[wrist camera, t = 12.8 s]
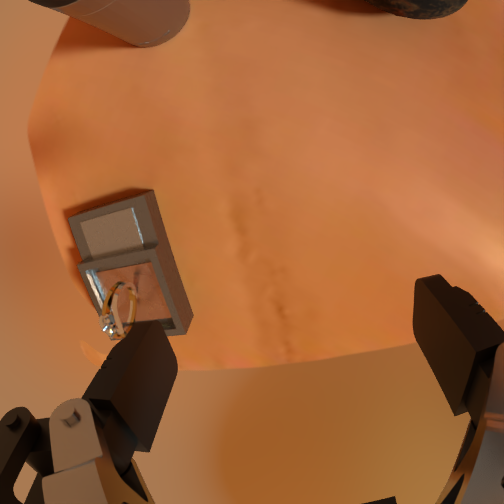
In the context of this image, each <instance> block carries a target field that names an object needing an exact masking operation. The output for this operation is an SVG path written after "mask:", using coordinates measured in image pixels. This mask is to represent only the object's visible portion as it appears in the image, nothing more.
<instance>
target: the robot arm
mask: <svg viewBox="0 0 504 504" xmlns="http://www.w3.org/2000/svg"><path fill="white" fill-rule="evenodd" d="M29 1H31V2H33V3H36V4H39V5H41V6H44V7H48V8H50V9H53V10H56V11H58V12H61V13H63V14H66V15H68V16H71V17H73V18H76V19H78V20H81V21H83V22H85V23H87V24H90V25H92V26H94V27H96V28H99V29H101V30H103V31H105V32H107V33H109V34H111V35H114V36H116V37H118V38H120V39H122V40H124V41H126V42H128V43H130V44H132V45H135V46H137V47H153V46H156V45H160V44H162V43H164V42H166V41H168V40H169V39H171V38H172V37H174V36H175V35H176V34H177V33H178V32H179V31H180V30H181V29H182V27H183V26H184V25H185V23H186V21H187V19H188V15H189V12H190V4H189V0H29ZM413 331H414V335H415V338H416V341H417V343H418V344H419V346H420V348H421V350H422V352H423V353H424V356H425V357H426V359H427V361H428V363H429V365H430V367H431V369H432V371H433V373H434V375H435V377H436V379H437V381H438V382H439V384H440V387H441V389H442V391H443V392H444V394H445V397H446V399H447V401H448V403H449V405H450V407H451V409H452V412H453V413H454V416H457V415H460V414H463V413H465V412H469V414H470V416H471V419H470V421H469V424H468V427H467V430H466V433H465V436H464V439H463V442H462V445H461V448H460V451H459V454H458V457H457V459H456V462H455V464H454V467H453V470H452V472H451V474H450V477H449V479H448V481H447V483H446V485H445V487H444V489H443V491H442V492H441V494H440V496H439V498H438V500H437V502H436V503H435V504H504V331H503V330H502V329H501V327H500V326H499V325H498V324H497V323H496V322H495V321H494V319H493V318H492V317H491V316H490V315H489V314H488V313H487V312H485V309H484V308H483V307H482V306H481V305H480V304H479V305H478V302H477V301H476V300H475V299H474V297H473V296H472V295H471V294H470V293H468V292H466V291H464V290H463V289H461V288H459V287H457V286H455V287H452V286H451V285H450V284H449V283H448V282H447V281H446V280H445V279H444V278H443V277H442V276H441V275H440V274H436V275H432V276H428V277H423V278H419V279H417V280H416V282H415V290H414V310H413ZM106 359H107V360H105V361H104V362H103V364H102V366H101V369H99V370H98V372H97V373H96V375H95V377H94V378H93V380H92V382H91V383H90V385H89V386H88V388H87V390H86V391H85V393H84V395H83V396H82V398H81V399H79V398H76V399H70V400H68V401H65V402H64V403H62V404H60V405H59V406H58V407H57V408H56V409H55V410H54V411H53V413H52V415H51V417H50V418H44V419H35V417H34V416H33V415H32V414H31V412H30V411H29V410H28V409H27V408H25V407H17V408H14V409H12V410H10V411H9V412H7V413H6V414H5V416H4V417H3V418H2V419H1V421H0V504H22V503H21V502H20V501H19V500H17V498H16V497H15V495H14V492H13V487H14V483H15V481H16V479H17V477H18V475H19V473H20V471H21V469H22V467H23V465H24V463H25V461H26V462H27V463H28V464H29V465H30V466H31V467H32V468H33V469H34V470H35V471H36V472H37V476H36V478H35V480H34V482H33V485H32V487H31V489H30V491H29V494H28V496H27V498H26V501H25V503H24V504H155V502H154V500H153V498H152V496H151V494H150V492H149V490H148V488H147V486H146V484H145V481H144V479H143V477H142V475H141V473H140V471H139V468H138V466H137V464H136V462H135V460H134V459H133V458H132V456H133V454H134V451H141V452H150V449H151V446H152V443H153V441H154V438H155V435H156V432H157V429H158V426H159V423H160V420H161V418H162V415H163V412H164V409H165V406H166V403H167V401H168V398H169V395H170V392H171V390H172V387H173V384H174V381H175V379H176V376H177V371H178V364H177V359H176V356H175V354H174V352H173V349H172V347H171V345H170V343H169V340H168V338H167V336H166V333H165V331H164V329H163V326H162V324H161V323H160V322H159V321H158V320H151V321H141V322H135V323H134V324H133V326H132V328H131V329H130V331H129V332H128V334H127V335H126V337H125V338H123V339H122V340H121V341H120V342H119V343H118V344H116V345H115V346H114V347H113V348H112V350H111V351H110V353H109V355H108V356H107V358H106ZM364 504H397V503H396V499H395V496H394V497H390V498H386V499H381V500H377V501H373V502H368V503H364Z"/></svg>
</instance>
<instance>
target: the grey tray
mask: <svg viewBox="0 0 504 504" xmlns="http://www.w3.org/2000/svg"><path fill="white" fill-rule="evenodd" d="M68 221H69V224H70V227H71V230H72V233H73V236H74V239H75V241H76V244H77V247H78V250H79V252H80V255H81V258H82V261H81V262H80V263H79V264H78V265H77V266H78V269H79V271H80V274H81V276H82V279H83V281H84V283H85V286H86V288H87V290H88V293H89V295H90V297H91V300H92V302H93V304H94V306H95V308H96V310H97V313H98V315H99V317H100V316H101V315H102V309H103V304H104V301H105V298H106V295H107V294H108V292H109V290H110V289H111V287H112V286H113V285H114V284H116V283H117V282H119V281H128V282H131V283H133V284H134V285H135V288H136V291H137V293H138V299H137V312H136V319H135V322H141V321H151V320H158V321H159V322H160V323H161V324H162V326H163V329H164V331H165V333H166V336H175V335H185V334H186V333H187V331H188V328H189V326H190V323H191V321H192V318H193V316H194V315H193V312H192V309H191V307H190V304H189V301H188V298H187V295H186V292H185V289H184V287H183V284H182V281H181V278H180V275H179V272H178V269H177V266H176V263H175V260H174V256H173V253H172V250H171V247H170V244H169V241H168V238H167V234H166V231H165V228H164V224H163V221H162V218H161V214H160V211H159V208H158V204H157V201H156V197H155V194H154V190H151V191H147V192H144V193H140V194H137V195H133V196H130V197H126V198H123V199H120V200H116V201H113V202H110V203H106V204H103V205H100V206H97V207H94V208H91V209H87V210H84V211H81V212H79V213H77V214H75V215H73V216H71V217H69V218H68ZM129 295H130V293H129V290H128V288H127V287H126V288H125V289H124V290H123V291H122V293H121V295H120V297H119V301H118V312H119V316H120V320H121V322H122V325H123V328H124V327H125V325H126V323H127V320H128V317H129V312H130V300H129ZM112 301H113V300H112ZM110 311H112V312H113V310H112V303H111V307H110ZM106 324H107V323H106ZM111 331H112V330H111ZM116 333H117V332H116ZM109 337H110V336H109ZM110 339H111V338H110ZM122 339H123V338H121V339H116V338H112V339H111V340H122Z"/></svg>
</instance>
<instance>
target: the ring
mask: <svg viewBox="0 0 504 504" xmlns="http://www.w3.org/2000/svg"><path fill="white" fill-rule="evenodd" d="M126 287H127V288H128V290H129V293H130V295H129V300H130V312H129V317H128V320H127V323H126V325H125V327H124V328H123V325H122V322H121V320H120V316H119V312H118V301H119V297H120V295H121V293H122V291H123V290H124V289H125V288H126ZM137 299H138V293H137V291H136V288H135V285H134V284H133V283H131V282H128V281H119V282H117V283H116V284H114V285H113V286H112V287H111V289H110V290H109V292H108V294H107V295H106V298H105V301H104V304H103V309H102V315H101V316H100V318H99V324H100V327H101V328H102V331H103V332H105V333H106V334H107V335H108V336H110V338H111V339H112V338H116V339H121V338H125V337H126V335H127V334H128V332H129V331H130V329H131V328H132V326H133V324H134V323H135V319H136V312H137ZM112 300H113V301H112ZM111 303H112V310H113V312H112V311H110V307H111ZM106 323H107V324H106ZM111 330H112V331H111ZM116 332H117V333H116Z"/></svg>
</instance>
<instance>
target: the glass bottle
mask: <svg viewBox="0 0 504 504" xmlns="http://www.w3.org/2000/svg"><path fill="white" fill-rule="evenodd" d="M365 1H367V2H368V3H370V4H372V5H373V6H375V7H377V8H379V9H382V10H384V11H386V12H389V13H392V14H394V15H396V16H402V17H407V18H412V19H436V18H441V17H445V16H448V15H450V14H453V13H454V12H456V11H458V10H459V9H460V8H462V7H463V6H464V5H465V3H466V2H467V1H468V0H365Z"/></svg>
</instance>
